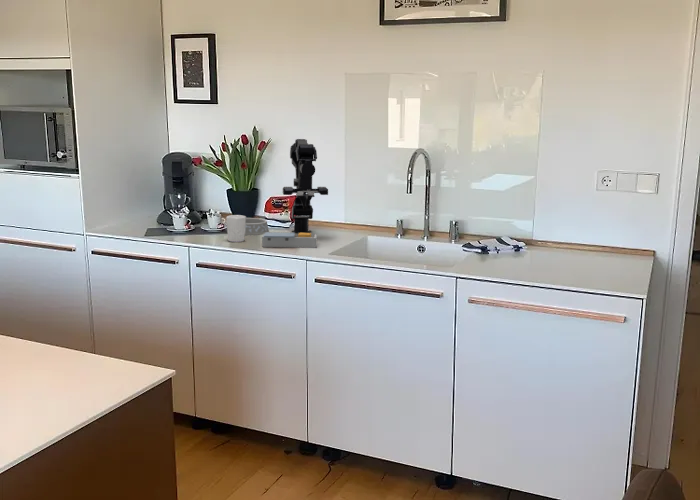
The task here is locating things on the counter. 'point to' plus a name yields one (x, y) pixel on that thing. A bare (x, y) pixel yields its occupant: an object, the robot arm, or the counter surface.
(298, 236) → the mustard yellow box
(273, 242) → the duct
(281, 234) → the panel
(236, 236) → the white cup
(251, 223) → the dog bowl
